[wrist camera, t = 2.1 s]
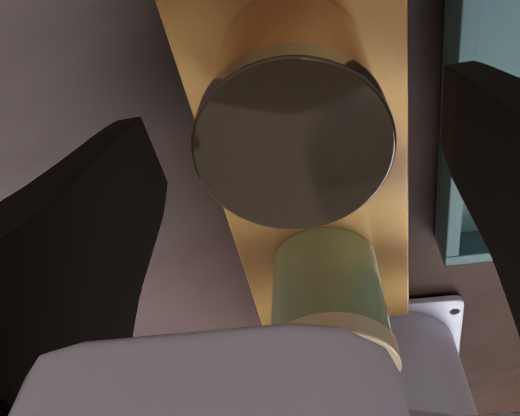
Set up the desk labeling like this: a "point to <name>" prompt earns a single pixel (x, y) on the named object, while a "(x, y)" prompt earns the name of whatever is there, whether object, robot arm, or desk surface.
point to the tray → (454, 51)
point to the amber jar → (293, 117)
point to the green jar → (332, 285)
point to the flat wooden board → (396, 91)
